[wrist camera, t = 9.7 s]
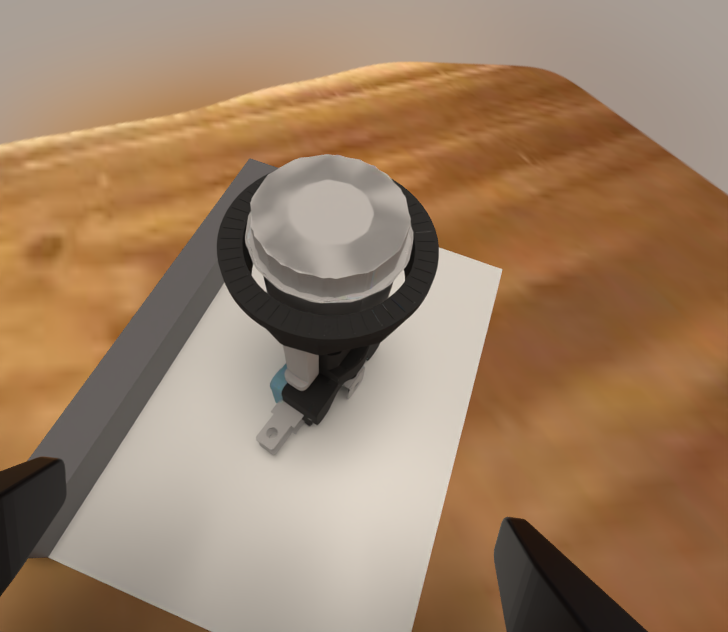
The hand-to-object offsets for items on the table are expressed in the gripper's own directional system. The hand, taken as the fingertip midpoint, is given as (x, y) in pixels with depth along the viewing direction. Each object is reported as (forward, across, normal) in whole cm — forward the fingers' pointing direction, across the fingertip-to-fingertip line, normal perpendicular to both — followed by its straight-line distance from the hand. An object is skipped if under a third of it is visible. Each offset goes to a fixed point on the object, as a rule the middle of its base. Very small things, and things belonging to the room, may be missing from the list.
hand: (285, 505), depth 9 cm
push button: (+9, 0, +2) cm, 9 cm away
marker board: (+10, +1, +2) cm, 10 cm away
